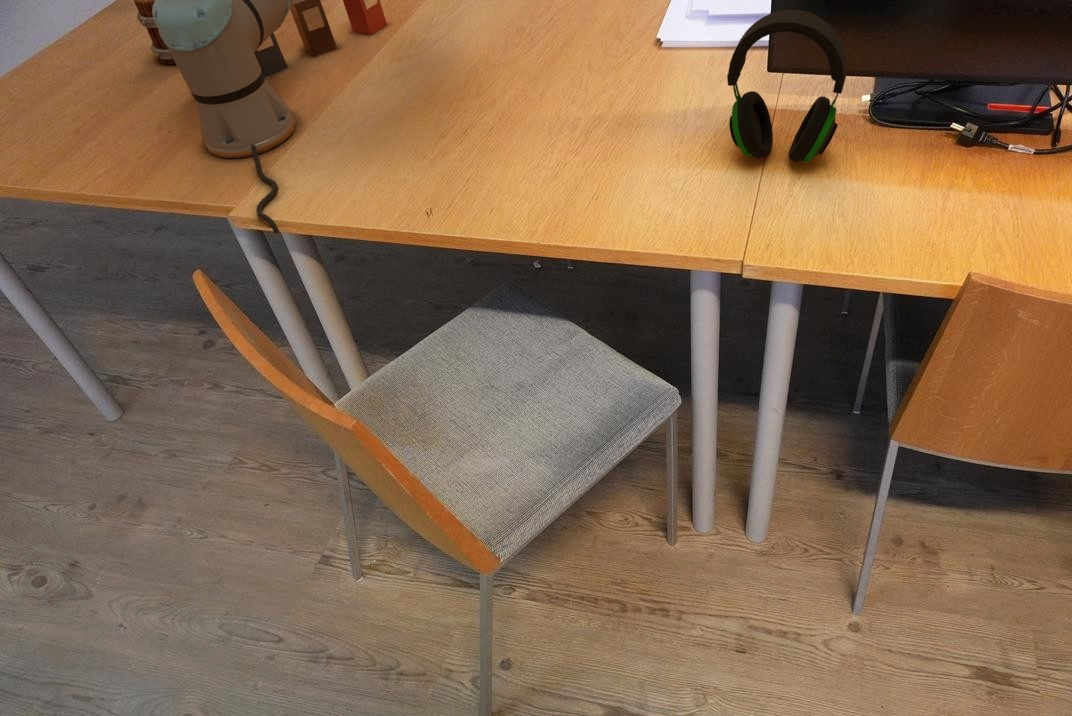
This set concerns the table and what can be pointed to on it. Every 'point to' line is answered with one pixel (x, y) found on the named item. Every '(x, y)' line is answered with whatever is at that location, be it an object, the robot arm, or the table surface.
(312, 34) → the line block
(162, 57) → the mug
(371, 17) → the red box
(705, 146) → the table surface
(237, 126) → the robot arm
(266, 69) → the line block
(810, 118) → the headphones
